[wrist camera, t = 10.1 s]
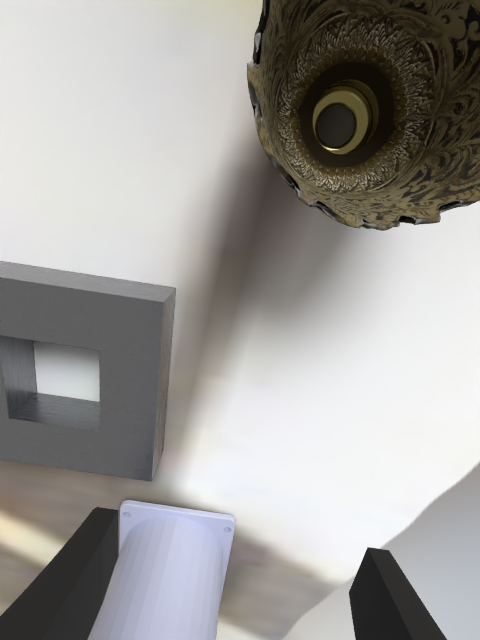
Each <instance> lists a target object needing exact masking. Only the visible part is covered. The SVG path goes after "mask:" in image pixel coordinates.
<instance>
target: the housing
mask: <svg viewBox="0 0 480 640" xmlns="http://www.w3.org/2000/svg"><path fill="white" fill-rule="evenodd" d="M175 294H176V288H173V287H166V286H160V285H153V284H147V283H140V282H134V281H127V280H121V279H114V278H108V277H101V276H95V275H88V274H82V273H75V272H69V271H62V270H56V269H49V268H43V267H36V266H30V265H23V264H17V263H10V262H4V261H0V459H4V460H11V461H17V462H24V463H31V464H37V465H44V466H51V467H58V468H64V469H71V470H78V471H85V472H91V473H98V474H105V475H111V476H118V477H125V478H132V479H138V480H145V481H152V479H153V476H154V474H155V471H156V468H157V465H158V463H159V460H160V457H161V454H162V452H163V443H164V431H165V418H166V406H167V393H168V381H169V368H170V356H171V343H172V331H173V318H174V306H175ZM33 340H34V341H41V342H48V343H54V344H61V345H67V346H74V347H81V348H87V349H94V350H100V402H94V401H88V400H81V399H74V398H68V397H61V396H55V395H48V394H41V393H37V387H36V375H35V363H34V351H33Z"/></svg>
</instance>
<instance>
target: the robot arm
mask: <svg viewBox="0 0 480 640" xmlns="http://www.w3.org/2000/svg"><path fill="white" fill-rule="evenodd" d="M235 525H236V519H235V517H233V516H232V515H228V514H221V513H214V512H207V511H200V510H194V509H187V508H180V507H173V506H167V505H160V504H153V503H146V502H140V501H133V500H125V501H123V502H122V504H121V507H120V533H119V557H118V559H117V552H118V510H113V509H106V508H100V507H97V508H95V509H93V510H92V512H91V513H90V514H89V516H88V517H87V518H86V520H85V521H84V522H83V523H82V525H81V526H80V527H79V528H78V530H77V531H76V532H75V533H74V535H73V536H72V537H71V538H70V539H69V541H68V542H67V543H66V544H65V545H64V547H63V548H62V549H61V550H60V551H59V552H58V554H57V555H56V556H55V557H54V558H53V559H52V561H51V562H50V563H49V564H48V565H47V566H46V567H45V568H44V570H43V571H42V572H41V573H40V574H39V575H38V576H37V577H36V579H35V580H34V581H33V582H32V583H31V584H30V585H29V586H28V588H27V589H26V590H25V591H24V592H23V593H22V594H21V595H20V596H19V597H18V598H17V599H16V600H15V601H14V603H13V604H12V605H11V606H10V607H9V608H8V609H7V610H6V611H5V612H4V613H3V614H2V615H1V616H0V640H216V634H217V623H218V612H219V603H220V601H221V595H222V590H223V585H224V580H225V575H226V570H227V565H228V560H229V555H230V550H231V545H232V540H233V535H234V530H235ZM116 561H117V562H116ZM115 564H116V565H115ZM349 596H350V604H351V611H352V619H353V625H354V632H355V638H356V640H447V639H446V638H445V636H444V634H443V633H442V632H441V630H440V628H439V627H438V626H437V624H436V623H435V621H434V619H433V618H432V616H431V615H430V613H429V612H428V610H427V609H426V607H425V606H424V604H423V603H422V601H421V600H420V598H419V596H418V595H417V593H416V592H415V590H414V589H413V587H412V586H411V584H410V582H409V581H408V579H407V578H406V576H405V575H404V573H403V572H402V570H401V569H400V567H399V565H398V564H397V562H396V560H395V559H394V557H393V556H392V555H391V553H390V551H389V550H382V549H376V548H369V547H368V548H367V550H366V553H365V555H364V558H363V560H362V562H361V565H360V567H359V570H358V572H357V574H356V577H355V579H354V582H353V584H352V586H351V589H350V591H349Z"/></svg>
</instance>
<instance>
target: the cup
mask: <svg viewBox="0 0 480 640" xmlns="http://www.w3.org/2000/svg"><path fill="white" fill-rule="evenodd" d="M247 79H248V88H249V94H250V99H251V103H252V106H253V110H254V115H255V123H256V128H257V132H258V136H259V139H260V142H261V144H262V146H263V149H264V151H265V153H266V154H267V156H268V158H269V160H270V161H271V163H272V164H273V166H274V167H275V169H276V170H277V172H278V173H279V174H280V176H281V177H282V178H283V179H284V180H285V181H286V182H287V183H288V185H289V186H290V187H291V188H292V189H293V190H294V193H295V194H296V195H297V197H298V198H299V199H300V200H301V201H302V202H304V203H305V204H306V205H308V206H309V207H317V208H318V209H320V210H321V211H322V212H324V213H325V214H326V215H328V216H329V217H331V218H332V219H334V220H336V221H338V222H340V223H342V224H345V225H347V226H350V227H354V228H361V226H362V227H364V228H366V229H368V228H373V229H377V230H383V231H384V230H387V229H390V228H392V227H399V225H400V223H401V222H405V223H412V224H414V225H418V224H431V223H438V222H440V214H441V212H444V211H447V210H449V209H452V208H456V207H462V206H468V205H470V204H473V203H475V202H477V201H480V0H263V7H262V13H261V17H260V21H259V26H258V28H257V30H256V32H255V37H254V53H253V60H252V61H251V62H249V63H247ZM333 105H344V106H346V107H348V108H349V109H350V110H351V111H352V113H353V115H354V118H355V129H354V132H353V135H352V136H351V138H350V139H349V140H348V141H347V142H346V143H345V144H343V145H341V146H337V147H332V146H328V145H326V144H325V143H324V142H323V141H322V140H321V139H320V137H319V134H318V121H319V118H320V116H321V115H322V113H323V112H324V111H325V110H326V109H327V108H329V107H330V106H333Z"/></svg>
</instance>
